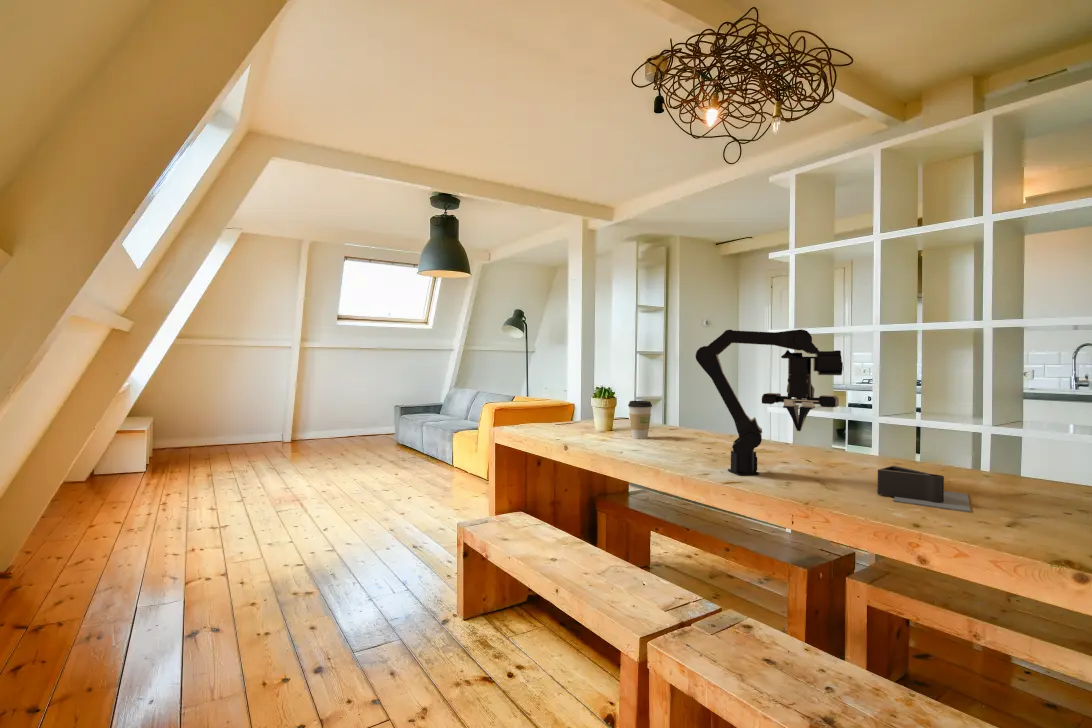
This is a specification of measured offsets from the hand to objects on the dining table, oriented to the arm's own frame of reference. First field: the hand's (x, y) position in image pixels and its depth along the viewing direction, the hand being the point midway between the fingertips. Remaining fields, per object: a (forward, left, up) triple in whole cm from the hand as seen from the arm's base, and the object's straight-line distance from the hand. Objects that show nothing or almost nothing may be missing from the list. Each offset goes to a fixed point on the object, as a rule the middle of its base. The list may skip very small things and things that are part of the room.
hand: (798, 430), depth 147 cm
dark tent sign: (+10, -18, -10) cm, 23 cm away
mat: (+17, -25, -13) cm, 33 cm away
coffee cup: (-17, +75, -13) cm, 78 cm away
